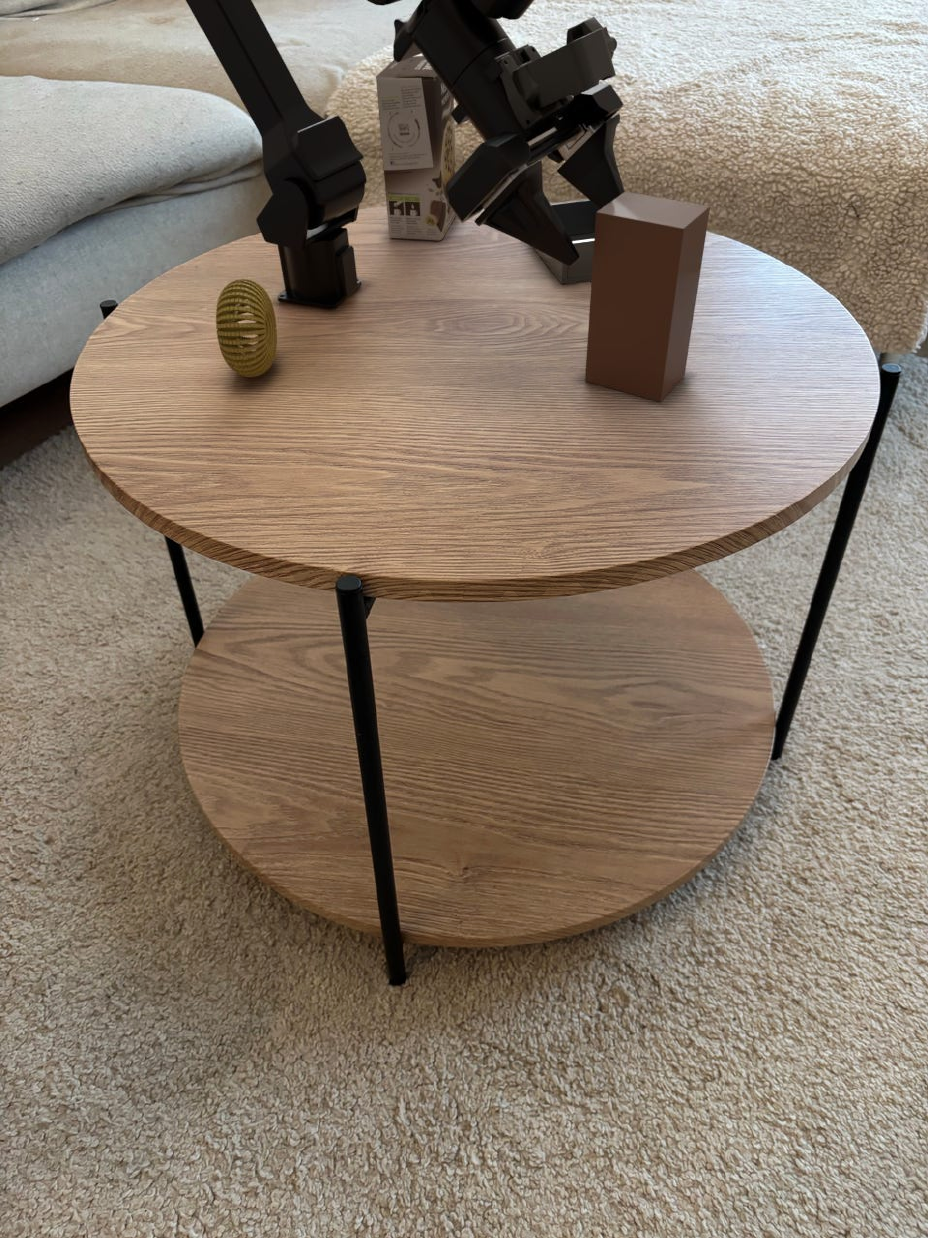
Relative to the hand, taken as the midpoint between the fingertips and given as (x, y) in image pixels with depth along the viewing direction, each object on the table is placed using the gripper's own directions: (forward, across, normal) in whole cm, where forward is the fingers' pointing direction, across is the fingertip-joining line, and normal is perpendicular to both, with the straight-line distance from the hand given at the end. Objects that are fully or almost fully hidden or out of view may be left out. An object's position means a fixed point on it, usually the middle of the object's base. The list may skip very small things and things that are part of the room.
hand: (602, 241), depth 71 cm
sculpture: (-10, -15, +26) cm, 32 cm away
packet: (+10, 0, +5) cm, 12 cm away
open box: (0, +22, +15) cm, 26 cm away
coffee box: (-15, +20, +30) cm, 39 cm away
